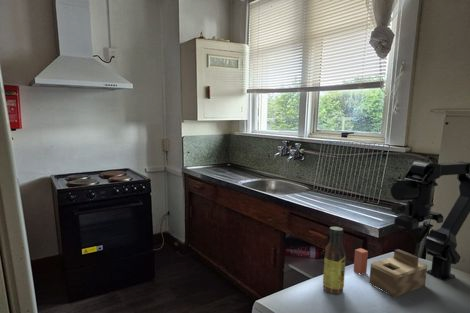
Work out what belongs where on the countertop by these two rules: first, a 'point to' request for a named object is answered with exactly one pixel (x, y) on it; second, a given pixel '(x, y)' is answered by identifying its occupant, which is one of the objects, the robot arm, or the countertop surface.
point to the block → (360, 260)
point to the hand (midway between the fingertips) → (416, 243)
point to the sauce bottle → (334, 262)
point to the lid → (399, 264)
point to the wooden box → (397, 281)
